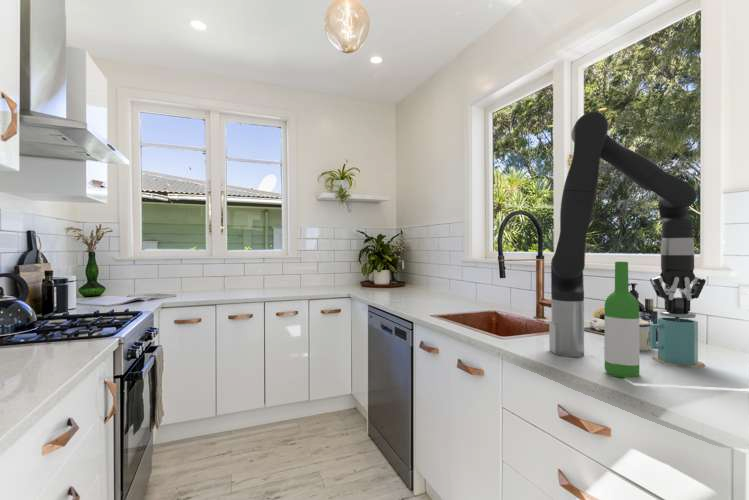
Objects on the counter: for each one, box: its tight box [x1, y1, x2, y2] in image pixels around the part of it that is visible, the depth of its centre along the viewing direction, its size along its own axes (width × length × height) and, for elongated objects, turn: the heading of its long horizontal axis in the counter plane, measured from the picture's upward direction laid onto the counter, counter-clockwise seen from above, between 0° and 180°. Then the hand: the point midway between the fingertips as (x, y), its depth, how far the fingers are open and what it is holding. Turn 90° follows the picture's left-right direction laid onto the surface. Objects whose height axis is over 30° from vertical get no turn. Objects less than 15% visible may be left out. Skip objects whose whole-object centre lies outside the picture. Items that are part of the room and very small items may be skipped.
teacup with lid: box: [639, 317, 651, 351], centre depth 125 cm, size 12×9×12 cm
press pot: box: [649, 316, 699, 366], centre depth 107 cm, size 11×8×12 cm
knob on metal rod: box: [659, 296, 696, 322], centre depth 107 cm, size 8×8×15 cm
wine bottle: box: [603, 261, 641, 379], centre depth 98 cm, size 8×8×30 cm
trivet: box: [651, 354, 706, 369], centre depth 107 cm, size 12×12×1 cm
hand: (677, 312), depth 107 cm, fingers closed on knob on metal rod, 3 cm apart
